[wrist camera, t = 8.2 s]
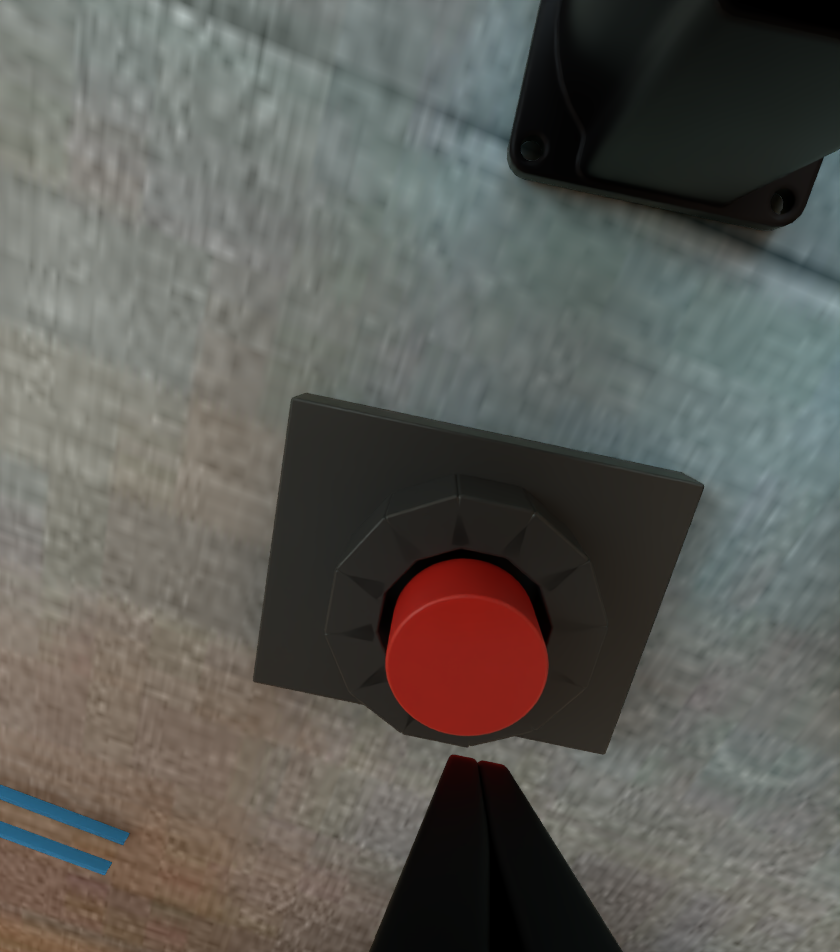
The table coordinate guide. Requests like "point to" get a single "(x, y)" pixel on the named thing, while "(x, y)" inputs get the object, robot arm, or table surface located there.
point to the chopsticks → (65, 817)
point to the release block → (464, 536)
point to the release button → (465, 649)
